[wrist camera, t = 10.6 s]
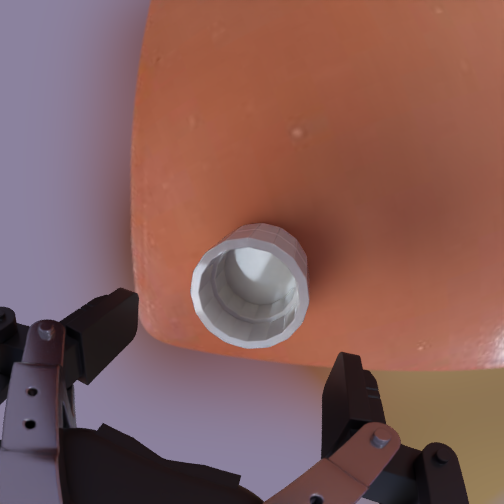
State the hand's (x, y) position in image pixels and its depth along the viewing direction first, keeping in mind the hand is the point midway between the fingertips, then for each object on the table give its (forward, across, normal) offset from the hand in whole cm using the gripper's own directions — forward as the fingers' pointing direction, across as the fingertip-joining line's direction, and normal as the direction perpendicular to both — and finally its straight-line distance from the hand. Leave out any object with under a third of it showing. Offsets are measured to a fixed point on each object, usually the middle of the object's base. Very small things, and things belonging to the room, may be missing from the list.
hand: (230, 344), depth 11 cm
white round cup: (+10, 0, 0) cm, 10 cm away
